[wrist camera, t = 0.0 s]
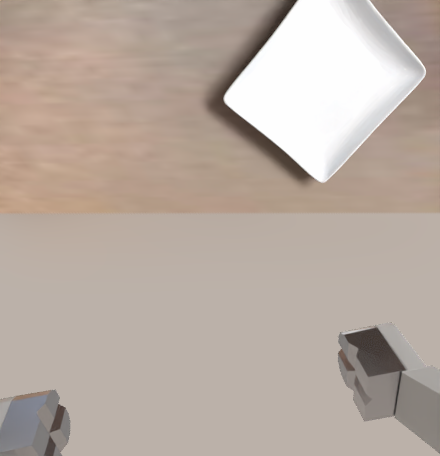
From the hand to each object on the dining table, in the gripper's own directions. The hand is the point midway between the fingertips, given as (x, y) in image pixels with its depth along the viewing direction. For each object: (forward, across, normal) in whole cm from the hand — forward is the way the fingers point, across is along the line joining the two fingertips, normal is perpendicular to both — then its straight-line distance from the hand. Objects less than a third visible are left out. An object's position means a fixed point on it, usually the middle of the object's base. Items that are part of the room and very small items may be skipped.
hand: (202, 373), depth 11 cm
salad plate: (+49, -21, +2) cm, 53 cm away
